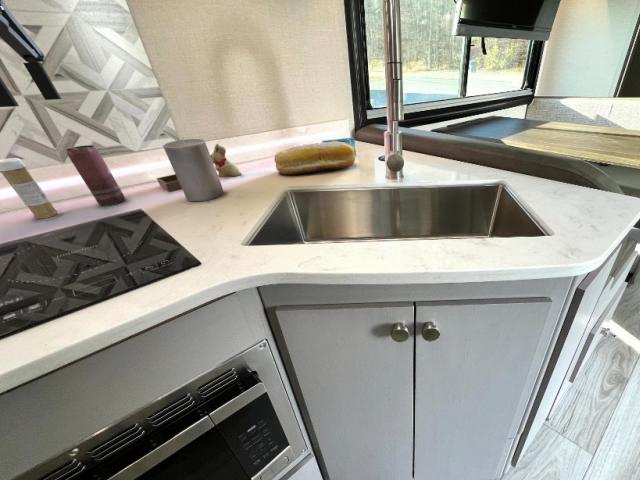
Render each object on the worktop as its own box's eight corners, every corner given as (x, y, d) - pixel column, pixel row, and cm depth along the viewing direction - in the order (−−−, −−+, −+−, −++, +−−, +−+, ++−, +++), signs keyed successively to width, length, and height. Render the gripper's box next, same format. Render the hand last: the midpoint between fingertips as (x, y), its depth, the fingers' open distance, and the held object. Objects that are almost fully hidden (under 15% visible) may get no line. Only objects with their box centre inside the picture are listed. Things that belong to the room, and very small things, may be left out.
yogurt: (325, 159, 118) (322, 141, 114) (324, 158, 119) (321, 140, 115) (356, 155, 121) (354, 137, 117) (355, 154, 122) (353, 137, 118)
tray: (169, 192, 92) (165, 184, 91) (160, 185, 98) (156, 178, 96) (208, 182, 99) (205, 175, 97) (197, 177, 104) (194, 169, 102)
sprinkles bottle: (42, 213, 82) (1, 158, 73) (63, 211, 82) (24, 156, 74) (31, 220, 78) (-15, 163, 70) (52, 218, 79) (10, 161, 71)
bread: (360, 169, 106) (357, 143, 101) (279, 180, 99) (272, 152, 94) (350, 159, 116) (347, 136, 111) (276, 169, 109) (269, 144, 104)
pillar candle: (217, 187, 94) (196, 132, 85) (229, 195, 88) (207, 136, 79) (182, 196, 89) (155, 137, 80) (191, 204, 83) (164, 143, 74)
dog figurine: (230, 171, 108) (219, 139, 102) (243, 174, 105) (233, 141, 99) (215, 175, 105) (202, 142, 99) (228, 179, 101) (216, 145, 95)
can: (103, 200, 88) (70, 145, 80) (129, 197, 90) (99, 143, 81) (94, 207, 84) (57, 151, 75) (121, 204, 85) (88, 148, 77)
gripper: (-112, -75, 42) (11, 109, 55) (18, -33, 61) (86, 96, 74) (-185, -78, 41) (-41, 111, 54) (-29, -34, 60) (49, 97, 73)
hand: (33, 103), depth 64 cm, fingers open, 13 cm apart
